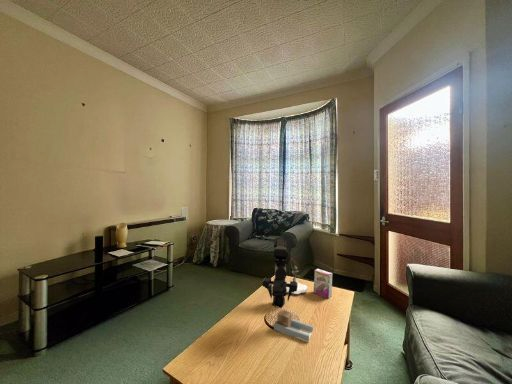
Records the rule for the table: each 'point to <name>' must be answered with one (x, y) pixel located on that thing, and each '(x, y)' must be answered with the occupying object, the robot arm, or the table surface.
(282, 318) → the walnut block
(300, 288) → the figurine
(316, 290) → the candy bar box
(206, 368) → the table surface
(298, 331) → the chute
